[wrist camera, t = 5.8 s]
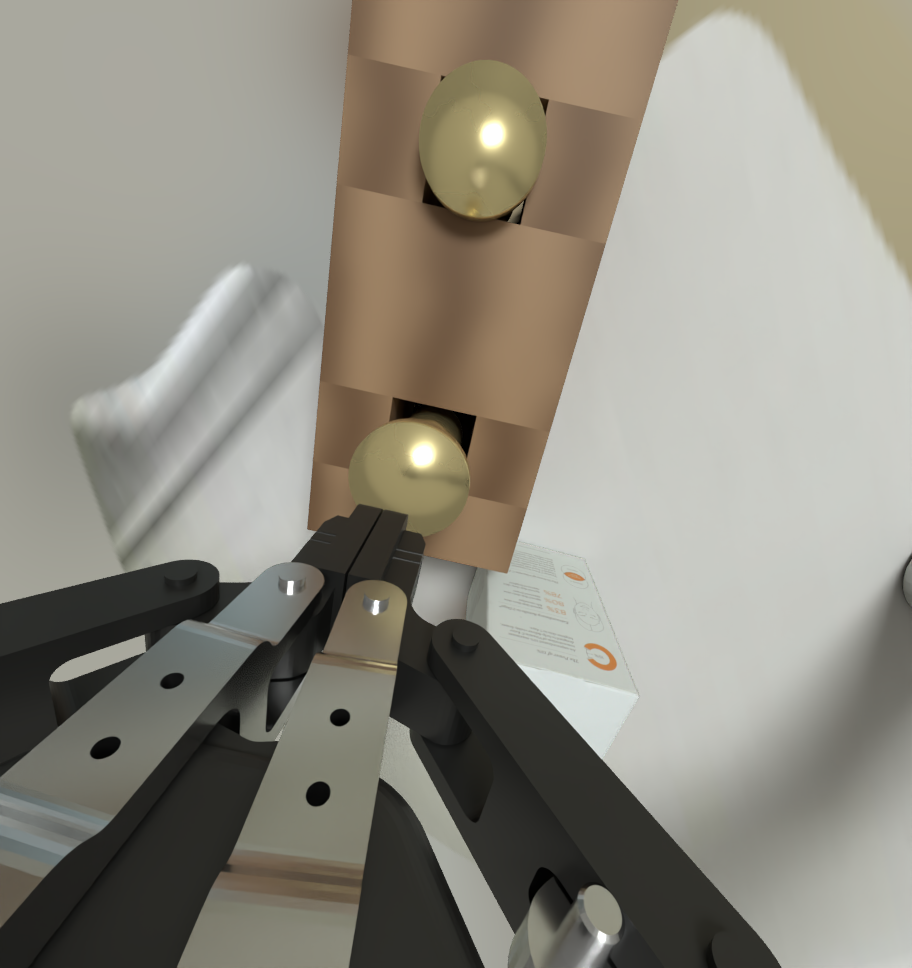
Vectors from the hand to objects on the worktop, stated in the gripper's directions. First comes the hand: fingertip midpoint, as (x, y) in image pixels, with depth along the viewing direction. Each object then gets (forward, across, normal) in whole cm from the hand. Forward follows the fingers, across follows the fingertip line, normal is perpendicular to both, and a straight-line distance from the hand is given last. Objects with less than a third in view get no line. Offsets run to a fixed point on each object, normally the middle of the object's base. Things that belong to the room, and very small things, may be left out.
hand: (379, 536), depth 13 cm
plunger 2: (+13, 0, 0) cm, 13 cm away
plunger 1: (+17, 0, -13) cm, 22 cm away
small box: (+18, -9, +12) cm, 24 cm away
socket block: (+18, 0, -6) cm, 19 cm away
